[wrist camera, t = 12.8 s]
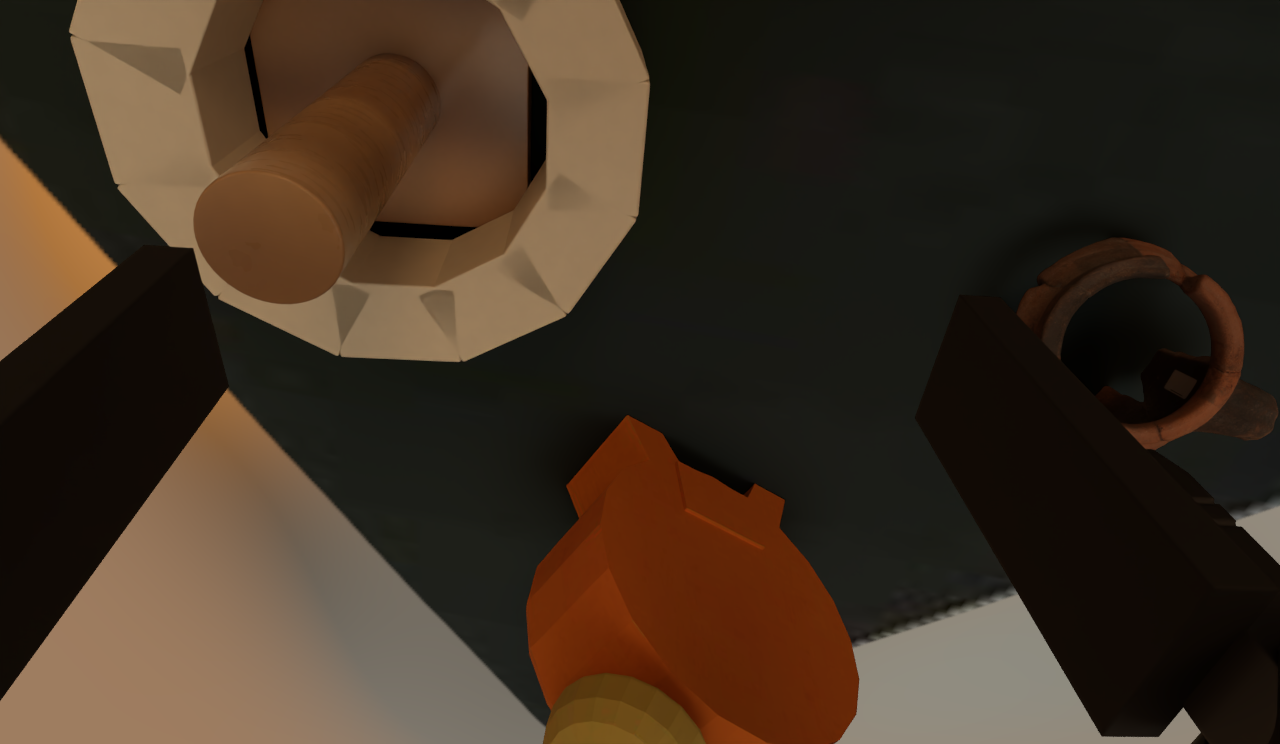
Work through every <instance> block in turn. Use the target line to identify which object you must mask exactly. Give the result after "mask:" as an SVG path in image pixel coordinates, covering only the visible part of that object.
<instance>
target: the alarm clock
mask: <svg viewBox="0 0 1280 744" xmlns="http://www.w3.org/2000/svg"><path fill="white" fill-rule="evenodd" d="M567 489H568V491H569V494H570V496H571V499H572V501H573V504H574V507H575V509H576V512H577V514H578V517H579V520H578V521H577V522H576V523H575V524H574V525H573V526H572V527H571V528H570V530H569V531H568V532H567V533H566V534H565V535H564V536H563V537H562V539H561V540H560V541H559V542H558V543H557V544H556V545H555V546H554V548H553V549H552V550H551V551H550V552H549V553H548V555H547V556H546V557H545V558H544V559H543V560H542V562H541V563H540V564H539V565H538V566H537V569H536V572H535V576H534V580H533V583H532V587H531V590H530V594H529V597H528V601H527V607H526V615H527V629H528V643H529V655H530V657H531V660H532V663H533V666H534V669H535V671H536V674H537V677H538V680H539V683H540V685H541V688H542V691H543V694H544V697H545V699H546V702H547V704H548V706H549V708H550V709H551V713H550V716H549V719H548V722H547V725H546V731H545V736H544V741H543V744H834V743H836V742H837V741H838V740H840V738H841V737H842V735H843V734H844V732H845V730H846V729H847V727H848V726H849V725H850V723H851V722H852V720H853V718H854V717H855V715H856V712H857V700H858V688H859V676H858V672H857V667H856V662H855V658H854V653H853V649H852V644H851V640H850V638H849V635H848V633H847V631H846V629H845V626H844V624H843V622H842V619H841V617H840V615H839V613H838V610H837V608H836V606H835V604H834V601H833V599H832V598H831V596H830V595H829V593H828V592H827V590H826V589H825V587H824V585H823V584H822V582H821V581H820V579H819V578H818V576H817V575H816V573H815V571H814V570H813V568H812V567H811V565H810V564H809V562H808V561H807V560H806V559H805V557H804V556H803V555H802V554H801V553H800V552H799V550H798V549H797V548H796V547H795V546H794V544H793V543H792V542H791V541H790V540H789V539H788V537H787V536H786V535H785V534H784V533H783V532H782V530H781V529H780V528H779V526H780V521H781V516H782V511H783V507H784V502H785V500H784V499H782V498H780V497H778V496H777V495H775V494H773V493H771V492H769V491H767V490H765V489H764V488H762V487H760V486H758V485H756V484H754V485H753V486H752V487H751V488H750V489H749V490H748V491H747V492H746V493H745V494H744V495H742V494H740V493H738V492H736V491H734V490H732V489H731V488H729V487H728V486H726V485H725V484H723V483H722V482H720V481H718V480H717V479H715V478H714V477H712V476H709V475H707V474H704V473H702V472H699V471H697V470H695V469H693V468H691V467H689V466H687V465H685V464H683V463H681V462H679V461H678V459H677V457H676V455H675V454H674V452H673V450H672V449H671V447H670V445H669V444H668V442H667V440H666V439H665V437H664V435H663V434H662V433H660V432H658V431H657V430H655V429H653V428H651V427H649V426H647V425H645V424H643V423H642V422H640V421H638V420H636V419H634V418H632V417H630V416H628V415H627V416H626V417H625V418H624V419H623V421H622V422H621V423H620V424H619V425H618V426H617V427H616V429H615V430H614V431H613V432H612V433H611V434H610V436H609V437H608V438H607V439H606V440H605V441H604V443H603V444H602V445H601V446H600V447H599V448H598V450H597V451H596V452H595V453H594V454H593V455H592V457H591V458H590V459H589V460H588V461H587V462H586V464H585V465H584V466H583V467H582V468H581V469H580V471H579V472H578V473H577V474H576V475H575V476H574V478H573V479H572V480H571V481H570V482H569V483H568V485H567Z"/></svg>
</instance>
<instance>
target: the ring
mask: <svg viewBox="0 0 1280 744" xmlns="http://www.w3.org/2000/svg"><path fill="white" fill-rule="evenodd" d="M262 1H263V0H77V4H76V8H75V11H74V15H73V19H72V22H71V26H70V30H69V32H70V33H71V34H73V36H71V42H72V45H73V49H74V52H75V55H76V58H77V62H78V65H79V68H80V71H81V75H82V78H83V81H84V84H85V88H86V91H87V94H88V98H89V101H90V104H91V107H92V111H93V114H94V117H95V120H96V124H97V127H98V130H99V133H100V137H101V140H102V143H103V147H104V150H105V153H106V156H107V160H108V163H109V166H110V169H111V173H112V176H113V179H114V182H115V183H116V184H120V185H119V186H118V190H119V191H120V192H121V193H122V194H123V195H124V196H125V197H126V198H127V199H128V201H129V202H130V203H131V204H132V205H133V206H134V207H135V208H136V209H137V211H138V212H139V213H140V214H141V215H142V216H143V217H144V218H145V219H146V221H147V222H148V223H149V224H150V225H151V226H152V227H153V228H154V229H155V231H156V232H157V233H158V234H159V235H160V236H161V237H162V238H163V239H164V241H165V242H166V243H167V244H168V245H169V246H170V247H185V248H193V249H194V253H195V256H196V260H197V264H198V268H199V272H200V276H201V280H202V283H203V284H204V285H205V286H206V287H207V288H208V289H209V290H210V292H211V293H212V294H213V295H214V296H217V295H219V296H218V299H220V300H222V301H224V302H226V303H228V304H230V305H232V306H234V307H236V308H238V309H240V310H242V311H245V312H247V313H249V314H251V315H253V316H255V317H257V318H259V319H261V320H263V321H265V322H267V323H270V324H272V325H274V326H276V327H278V328H280V329H282V330H284V331H286V332H288V333H290V334H292V335H295V336H297V337H299V338H301V339H303V340H305V341H307V342H309V343H311V344H313V345H315V346H317V347H320V348H322V349H324V350H326V351H328V352H330V353H332V354H334V355H336V356H338V355H339V354H341V356H342V357H356V358H379V359H402V360H425V361H448V362H460V361H461V359H462V361H463V362H464V361H467V360H469V359H471V358H473V357H476V356H478V355H480V354H482V353H484V352H487V351H489V350H491V349H493V348H496V347H498V346H500V345H502V344H505V343H507V342H509V341H511V340H514V339H516V338H518V337H520V336H523V335H525V334H527V333H529V332H532V331H534V330H536V329H538V328H541V327H543V326H545V325H547V324H550V323H552V322H554V321H556V320H559V319H561V318H563V317H565V316H566V313H569V312H570V311H571V310H572V309H573V307H574V306H575V304H576V303H577V302H578V300H579V299H580V297H581V296H582V295H583V293H584V292H585V291H586V289H587V288H588V286H589V285H590V284H591V282H592V281H593V280H594V278H595V277H596V275H597V274H598V273H599V271H600V270H601V269H602V267H603V266H604V264H605V263H606V262H607V260H608V259H609V257H610V256H611V255H612V253H613V252H614V251H615V249H616V248H617V246H618V245H619V244H620V242H621V241H622V240H623V238H624V237H625V235H626V234H627V233H628V231H629V230H630V229H631V227H632V226H633V224H634V223H635V222H636V217H637V216H638V213H639V202H640V191H641V180H642V169H643V158H644V147H645V136H646V125H647V114H648V102H649V91H650V82H649V74H648V71H647V68H646V64H645V61H644V57H643V54H642V50H641V48H640V46H639V44H638V41H637V39H636V37H635V34H634V32H633V30H632V27H631V25H630V23H629V21H628V18H627V16H626V14H625V11H624V9H623V7H622V5H621V2H620V0H487V1H488V2H490V3H491V4H492V5H494V6H495V7H497V8H498V9H499V10H500V11H501V13H502V15H503V17H504V19H505V21H506V23H507V25H508V27H509V29H510V30H511V32H512V34H513V36H514V38H515V40H516V42H517V44H518V46H519V48H520V50H521V52H522V53H523V55H524V57H525V59H526V61H527V63H528V65H529V67H530V69H531V71H532V73H533V75H534V76H535V78H536V80H537V82H538V84H539V86H540V88H541V90H542V92H543V94H544V96H545V97H546V99H547V130H546V160H545V161H544V163H543V165H542V166H541V168H540V169H539V171H538V173H537V174H536V176H535V177H534V179H533V181H532V182H531V184H530V185H529V187H528V188H527V190H526V192H525V193H524V195H523V196H522V198H521V200H520V201H519V203H518V204H517V206H516V207H515V209H514V210H513V211H511V212H509V213H507V214H505V215H503V216H501V217H498V218H496V219H494V220H492V221H490V222H488V223H486V224H484V225H482V226H480V227H478V228H476V229H474V230H472V231H469V232H467V233H465V234H463V235H461V236H459V237H457V238H455V239H453V240H440V239H423V238H406V237H389V236H379V235H378V234H376V233H374V232H372V231H370V230H369V231H368V233H367V234H366V236H365V237H364V239H363V241H362V242H361V244H360V245H359V247H358V248H357V250H356V252H355V253H354V255H353V256H352V258H351V259H350V261H349V263H348V264H347V266H346V267H345V269H344V270H343V272H342V274H341V275H340V277H339V278H338V280H337V281H336V283H335V284H334V285H333V286H332V287H331V289H329V290H328V291H327V292H326V293H324V294H323V295H321V296H319V297H318V298H315V299H313V300H310V301H307V302H303V303H298V304H274V303H269V302H264V301H261V300H258V299H255V298H252V297H250V296H247V295H245V294H243V293H242V292H240V291H238V290H236V289H235V288H233V287H232V286H230V285H229V284H227V283H226V282H225V281H224V280H223V279H221V278H220V277H219V276H218V275H217V274H216V273H215V272H214V271H213V269H212V268H211V267H210V266H209V264H208V263H207V262H206V260H205V258H204V257H203V255H202V253H201V251H200V249H199V247H198V244H197V241H196V238H195V234H194V226H193V217H194V210H195V207H196V203H197V201H198V199H199V197H200V195H201V194H202V192H203V191H204V190H205V188H206V187H207V186H208V185H210V184H211V183H212V182H213V181H214V180H215V179H217V178H218V177H219V176H220V175H222V174H223V173H224V172H226V171H227V170H228V169H229V168H231V167H232V166H233V165H234V164H236V163H237V162H238V161H239V160H241V159H242V158H243V157H244V156H246V155H247V154H248V153H249V152H251V151H252V150H253V149H254V148H256V147H257V146H258V145H259V144H261V143H262V142H263V141H264V140H266V138H265V137H264V135H263V134H262V133H261V131H260V130H259V124H258V119H257V114H256V109H255V103H254V98H253V93H252V88H251V82H250V77H249V72H248V66H247V61H246V56H245V51H244V47H245V45H246V42H247V40H248V37H249V34H250V32H251V29H252V27H253V24H254V22H255V19H256V17H257V14H258V11H259V9H260V6H261V4H262Z"/></svg>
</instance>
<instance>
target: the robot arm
mask: <svg viewBox="0 0 1280 744" xmlns="http://www.w3.org/2000/svg"><path fill="white" fill-rule="evenodd" d="M228 387H229V385H228V381H227V377H226V373H225V369H224V365H223V361H222V358H221V354H220V350H219V346H218V342H217V338H216V334H215V330H214V326H213V323H212V319H211V315H210V311H209V307H208V303H207V299H206V295H205V291H204V288H203V284H202V280H201V276H200V272H199V268H198V264H197V260H196V256H195V253H194V249H193V248H185V247H169V246H152V245H143V246H142V247H141V248H140V249H139V250H137V251H136V252H135V253H134V254H132V255H131V256H130V257H129V258H127V259H126V260H125V261H124V262H122V263H121V264H120V265H119V266H117V267H116V268H115V269H114V270H113V271H111V272H110V273H109V274H108V275H106V276H105V277H104V278H103V279H101V280H100V281H99V282H98V283H97V284H95V285H94V286H93V287H91V288H90V289H89V290H88V291H87V292H85V293H84V294H83V295H82V296H80V297H79V298H78V299H77V300H75V301H74V302H73V303H72V304H70V305H69V306H68V307H67V308H65V309H64V310H63V311H62V312H61V313H59V314H58V315H57V316H56V317H54V318H53V319H52V320H51V321H49V322H48V323H47V324H46V325H44V326H43V327H42V328H41V329H40V330H38V331H37V332H36V333H35V334H33V335H32V336H31V337H30V338H28V339H27V340H26V341H25V342H23V343H22V344H21V345H20V346H18V347H17V348H16V349H15V350H13V351H12V352H11V353H10V354H9V355H7V356H6V357H5V358H4V359H2V360H1V361H0V700H1V699H2V698H3V696H4V695H5V694H6V692H7V691H8V689H9V688H10V687H11V685H12V684H13V683H14V681H15V680H16V678H17V677H18V676H19V674H20V673H21V672H22V670H23V669H24V667H25V666H26V665H27V663H28V662H29V661H30V659H31V658H32V656H33V655H34V654H35V652H36V651H37V650H38V648H39V647H40V645H41V644H42V643H43V641H44V640H45V638H46V637H47V636H48V634H49V633H50V632H51V630H52V629H53V628H54V626H55V625H56V623H57V622H58V621H59V619H60V618H61V617H62V615H63V614H64V612H65V611H66V610H67V608H68V607H69V606H70V604H71V603H72V601H73V600H74V599H75V597H76V596H77V594H78V593H79V591H80V590H81V589H82V587H83V586H84V585H85V584H86V582H87V581H88V579H89V578H90V576H91V575H92V574H93V573H94V571H95V570H96V568H97V567H98V566H99V564H100V563H101V562H102V560H103V559H104V557H105V556H106V555H107V553H108V552H109V551H110V549H111V548H112V546H113V545H114V544H115V542H116V541H117V540H118V538H119V537H120V535H121V534H122V533H123V531H124V530H125V529H126V527H127V525H128V524H129V523H130V522H131V520H132V519H133V518H134V516H135V514H136V513H137V512H138V510H139V509H140V508H141V507H142V505H143V504H144V502H145V501H146V500H147V498H148V497H149V495H150V494H151V493H152V491H153V490H154V489H155V487H156V486H157V484H158V483H159V482H160V480H161V479H162V478H163V476H164V475H165V473H166V472H167V471H168V469H169V468H170V467H171V465H172V464H173V462H174V461H175V460H176V458H177V457H178V456H179V454H180V453H181V451H182V450H183V449H184V447H185V446H186V445H187V443H188V442H189V440H190V439H191V437H192V436H193V435H194V433H195V432H196V431H197V429H198V428H199V427H200V425H201V424H202V423H203V421H204V420H205V418H206V417H207V416H208V414H209V413H210V412H211V410H212V409H213V407H214V406H215V405H216V403H217V402H218V401H219V399H220V398H221V396H222V395H223V394H224V392H225V391H226V390H227V388H228ZM915 419H916V421H917V422H918V424H919V426H920V427H921V429H922V431H923V432H924V434H925V436H926V438H927V439H928V441H929V443H930V444H931V446H932V448H933V450H934V451H935V453H936V455H937V456H938V458H939V460H940V461H941V463H942V465H943V467H944V468H945V470H946V472H947V473H948V475H949V477H950V479H951V480H952V482H953V484H954V485H955V487H956V489H957V490H958V492H959V494H960V496H961V497H962V499H963V501H964V502H965V504H966V506H967V508H968V509H969V511H970V513H971V514H972V516H973V518H974V519H975V521H976V523H977V525H978V526H979V528H980V530H981V531H982V533H983V535H984V537H985V538H986V540H987V542H988V543H989V545H990V547H991V548H992V550H993V552H994V554H995V555H996V557H997V559H998V560H999V562H1000V564H1001V566H1002V567H1003V569H1004V571H1005V572H1006V574H1007V576H1008V577H1009V579H1010V581H1011V583H1012V584H1013V586H1014V588H1015V589H1016V591H1017V593H1018V595H1019V596H1020V598H1021V600H1022V601H1023V603H1024V605H1025V606H1026V608H1027V610H1028V611H1029V613H1030V615H1031V617H1032V618H1033V620H1034V622H1035V624H1036V625H1037V627H1038V629H1039V630H1040V632H1041V634H1042V635H1043V637H1044V639H1045V641H1046V642H1047V644H1048V646H1049V647H1050V649H1051V651H1052V653H1053V654H1054V656H1055V658H1056V659H1057V661H1058V663H1059V664H1060V666H1061V668H1062V670H1063V671H1064V673H1065V674H1066V676H1067V678H1068V680H1069V681H1070V683H1071V685H1072V687H1073V688H1074V690H1075V692H1076V693H1077V695H1078V697H1079V699H1080V700H1081V702H1082V704H1083V705H1084V707H1085V709H1086V711H1087V712H1088V714H1089V716H1090V717H1091V719H1092V721H1093V722H1094V724H1095V726H1096V728H1097V729H1098V731H1099V732H1100V734H1101V736H1113V737H1114V736H1115V737H1122V736H1123V737H1126V736H1127V737H1159V736H1160V735H1161V733H1162V732H1163V731H1164V730H1165V729H1166V727H1167V726H1168V725H1169V724H1170V722H1171V721H1172V720H1173V719H1174V718H1175V717H1176V715H1177V714H1178V713H1179V712H1180V710H1181V709H1182V708H1183V707H1184V709H1185V710H1186V712H1187V713H1188V715H1189V716H1190V717H1191V719H1192V720H1193V722H1194V723H1195V724H1196V726H1197V727H1198V729H1199V730H1200V731H1201V733H1200V734H1199V735H1198V736H1197V738H1196V739H1195V740H1194V741H1193V742H1192V743H1191V744H1280V565H1279V564H1278V563H1277V562H1276V561H1275V560H1274V559H1273V558H1272V557H1271V556H1270V555H1269V554H1268V553H1267V552H1266V551H1265V550H1264V549H1263V548H1262V547H1261V546H1260V545H1259V544H1258V543H1257V542H1256V541H1255V540H1254V539H1253V538H1252V537H1251V536H1250V535H1249V534H1248V533H1247V532H1246V531H1245V530H1244V529H1243V528H1242V527H1238V526H1236V524H1235V522H1236V520H1235V519H1234V518H1233V517H1232V516H1231V515H1230V514H1229V513H1228V512H1227V511H1226V510H1225V509H1224V508H1223V507H1222V506H1221V505H1220V504H1214V498H1213V497H1212V496H1211V495H1210V494H1209V493H1208V492H1207V491H1206V490H1205V489H1204V488H1203V487H1202V486H1201V485H1200V484H1199V483H1198V482H1197V481H1196V480H1195V479H1194V478H1193V477H1192V476H1191V475H1190V474H1189V473H1188V472H1186V471H1185V470H1183V469H1182V468H1180V467H1179V466H1177V465H1176V464H1174V463H1173V462H1171V461H1170V460H1168V459H1167V458H1165V457H1164V456H1162V455H1161V454H1159V453H1158V452H1156V451H1155V450H1153V449H1145V448H1144V447H1143V446H1142V445H1141V444H1140V443H1139V442H1138V441H1137V440H1136V439H1135V438H1134V437H1133V435H1132V434H1131V433H1130V432H1129V431H1128V430H1127V429H1126V428H1125V427H1124V426H1123V425H1122V424H1121V423H1120V422H1119V421H1118V420H1117V419H1116V418H1115V417H1114V416H1113V415H1112V414H1111V412H1110V411H1109V410H1108V409H1107V408H1106V407H1105V406H1104V405H1103V404H1102V403H1101V402H1100V401H1099V400H1098V399H1097V398H1096V397H1095V396H1094V395H1093V394H1092V393H1091V392H1090V391H1089V390H1088V388H1087V387H1086V386H1085V385H1084V384H1083V383H1082V382H1081V381H1080V380H1079V379H1078V378H1077V377H1076V376H1075V375H1074V374H1073V373H1072V372H1071V371H1070V370H1069V369H1068V368H1067V367H1066V366H1065V364H1064V363H1063V362H1062V361H1061V360H1060V359H1059V358H1058V357H1057V356H1056V355H1055V354H1054V353H1053V352H1052V351H1051V350H1050V349H1049V348H1048V347H1047V346H1046V345H1045V344H1044V343H1043V341H1042V340H1041V339H1040V338H1039V337H1038V336H1037V335H1036V334H1035V333H1034V332H1033V331H1032V330H1031V329H1030V328H1029V327H1028V326H1027V325H1026V324H1025V323H1024V322H1023V321H1022V320H1021V319H1020V317H1019V316H1018V315H1017V314H1016V313H1015V312H1014V311H1013V310H1012V309H1011V308H1010V307H1009V306H1008V305H1007V304H1006V303H1005V302H1004V301H1003V300H1002V299H1001V298H1000V297H986V296H969V295H959V298H958V301H957V303H956V306H955V309H954V312H953V314H952V317H951V320H950V323H949V325H948V328H947V331H946V334H945V336H944V339H943V342H942V345H941V347H940V350H939V353H938V356H937V358H936V361H935V364H934V367H933V369H932V372H931V375H930V378H929V380H928V383H927V386H926V388H925V391H924V394H923V397H922V399H921V402H920V405H919V408H918V410H917V413H916V416H915Z"/></svg>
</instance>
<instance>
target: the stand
mask: <svg viewBox="0 0 1280 744" xmlns="http://www.w3.org/2000/svg"><path fill="white" fill-rule="evenodd" d="M250 39H251V44H252V50H253V55H254V61H255V66H256V72H257V77H258V83H259V88H260V94H261V99H262V105H263V110H264V116H265V121H266V127H267V133H268V138H267V139H266V140H264V141H263V142H262V143H261V144H259V145H258V146H257V147H256V148H254V149H253V150H252V151H251V152H249V153H248V154H247V155H246V156H244V157H243V158H242V159H241V160H239V161H238V162H237V163H236V164H234V165H233V166H232V167H231V168H229V169H228V170H227V171H226V172H224V173H223V174H222V175H220V176H219V177H218V178H217V179H215V180H214V181H213V182H212V183H211V184H210V185H208V186H207V187H206V188H205V190H204V191H203V192H202V194H201V195H200V197H199V199H198V201H197V203H196V207H195V210H194V217H193V226H194V234H195V238H196V241H197V244H198V247H199V249H200V251H201V253H202V255H203V257H204V258H205V260H206V262H207V263H208V264H209V266H210V267H211V268H212V269H213V271H214V272H215V273H216V274H217V275H218V276H219V277H220V278H221V279H223V280H224V281H225V282H226V283H227V284H229V285H230V286H232V287H233V288H235V289H236V290H238V291H240V292H242V293H243V294H245V295H247V296H250V297H252V298H255V299H258V300H261V301H264V302H269V303H274V304H298V303H303V302H307V301H310V300H313V299H315V298H318V297H319V296H321V295H323V294H324V293H326V292H327V291H328V290H329V289H331V287H332V286H333V285H334V284H335V283H336V281H337V280H338V278H339V277H340V275H341V274H342V272H343V270H344V269H345V267H346V266H347V264H348V263H349V261H350V259H351V258H352V256H353V255H354V253H355V252H356V250H357V248H358V247H359V245H360V244H361V242H362V241H363V239H364V237H365V236H366V234H367V233H368V231H369V230H370V228H371V226H372V225H373V223H374V222H375V221H382V222H398V223H414V224H430V225H446V226H462V227H480V226H482V225H484V224H486V223H488V222H490V221H492V220H494V219H496V218H498V217H501V216H503V215H505V214H507V213H509V212H511V211H513V210H514V209H515V207H516V206H517V204H518V203H519V201H520V200H521V198H522V196H523V195H524V193H525V192H526V190H527V188H528V187H529V185H530V184H531V95H532V71H531V69H530V67H529V65H528V63H527V61H526V59H525V57H524V55H523V53H522V52H521V50H520V48H519V46H518V44H517V42H516V40H515V38H514V36H513V34H512V32H511V30H510V29H509V27H508V25H507V23H506V21H505V19H504V17H503V15H502V13H501V11H500V10H499V9H498V8H497V7H495V6H494V5H492V4H491V3H490V2H488V1H487V0H263V1H262V4H261V6H260V9H259V11H258V14H257V17H256V19H255V22H254V24H253V27H252V29H251V32H250Z"/></svg>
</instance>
